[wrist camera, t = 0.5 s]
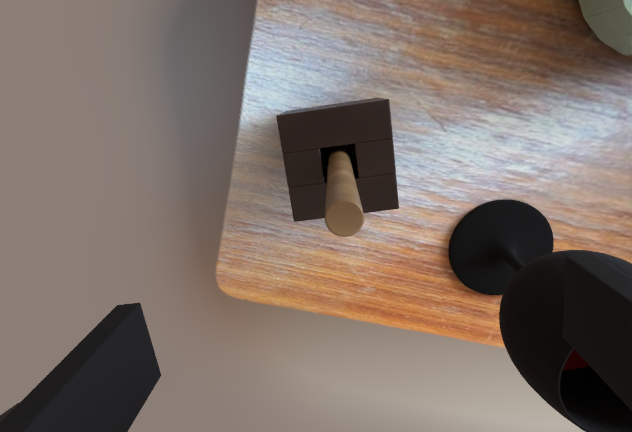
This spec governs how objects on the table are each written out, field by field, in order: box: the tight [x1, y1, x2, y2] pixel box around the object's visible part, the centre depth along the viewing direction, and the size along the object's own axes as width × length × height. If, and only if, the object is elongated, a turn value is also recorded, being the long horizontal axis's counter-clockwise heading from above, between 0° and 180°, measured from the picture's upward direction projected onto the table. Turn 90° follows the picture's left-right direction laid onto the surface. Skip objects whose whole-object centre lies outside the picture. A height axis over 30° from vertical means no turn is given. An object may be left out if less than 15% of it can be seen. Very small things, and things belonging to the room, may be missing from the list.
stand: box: [277, 98, 399, 222], centre depth 37 cm, size 9×9×7 cm
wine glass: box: [449, 200, 632, 432], centre depth 33 cm, size 10×10×20 cm
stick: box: [325, 145, 364, 237], centre depth 29 cm, size 2×2×22 cm
